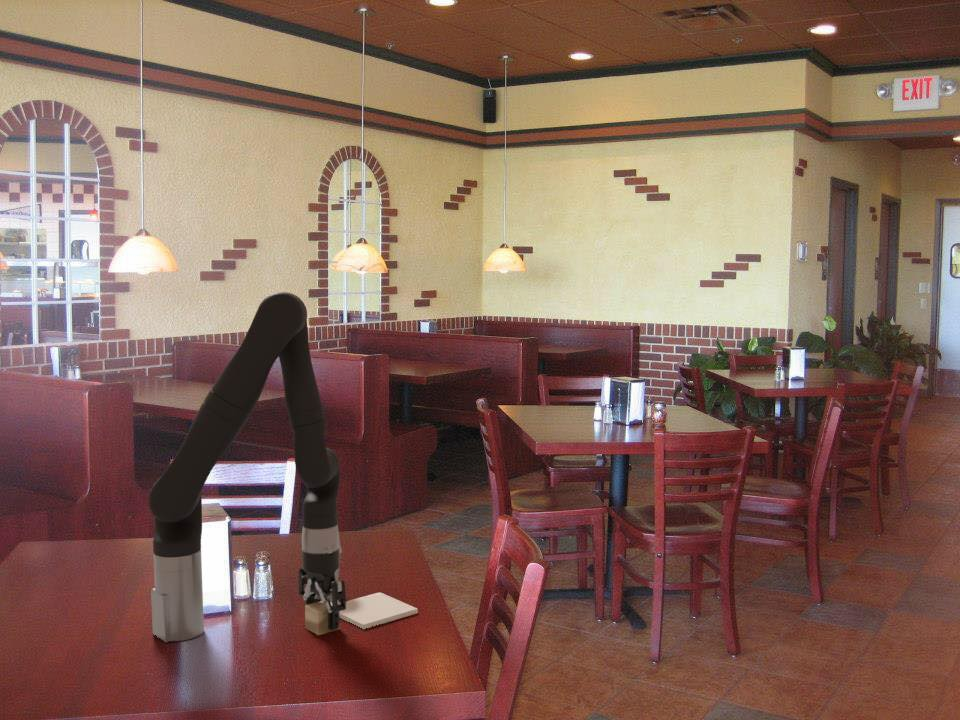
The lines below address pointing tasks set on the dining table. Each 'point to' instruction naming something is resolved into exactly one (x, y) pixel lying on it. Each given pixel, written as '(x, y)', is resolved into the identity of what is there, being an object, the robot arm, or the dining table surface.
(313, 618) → the maple cube
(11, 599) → the dining table surface
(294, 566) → the dining table surface
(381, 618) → the plate
